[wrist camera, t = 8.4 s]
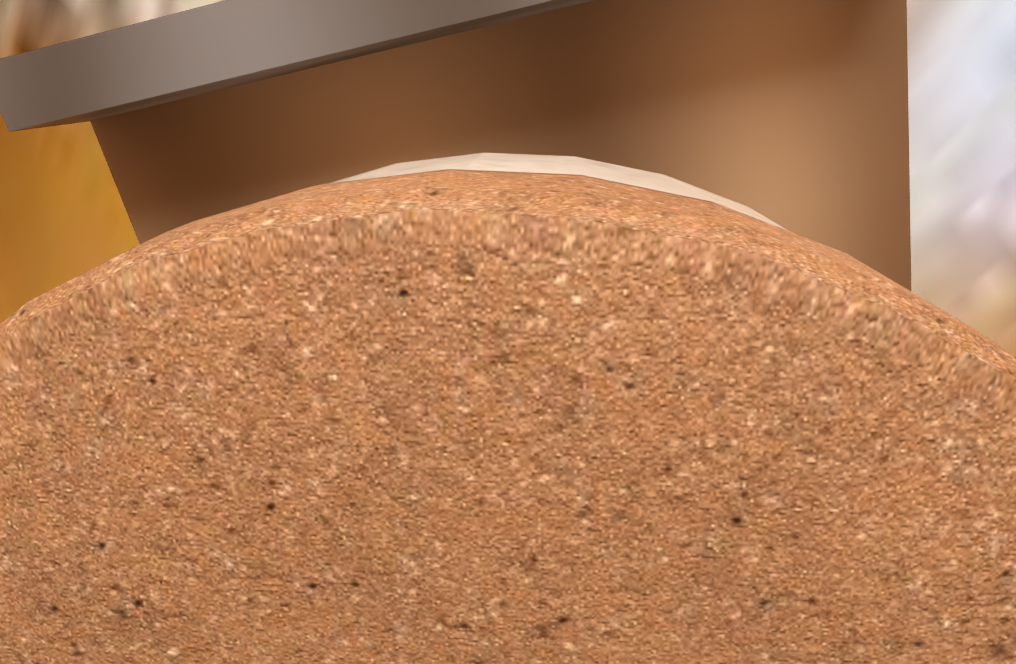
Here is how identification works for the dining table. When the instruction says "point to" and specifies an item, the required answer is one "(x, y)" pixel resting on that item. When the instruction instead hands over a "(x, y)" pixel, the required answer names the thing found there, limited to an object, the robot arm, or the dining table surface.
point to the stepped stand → (498, 101)
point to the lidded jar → (501, 438)
